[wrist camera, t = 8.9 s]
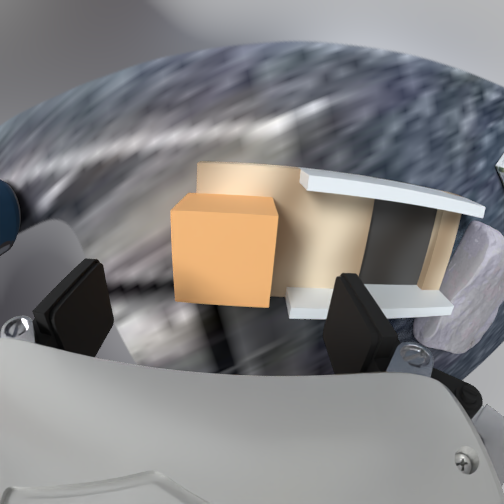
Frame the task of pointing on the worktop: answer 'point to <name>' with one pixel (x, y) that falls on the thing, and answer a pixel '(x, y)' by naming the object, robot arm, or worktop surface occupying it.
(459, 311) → the stone block
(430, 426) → the robot arm
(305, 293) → the channel walls
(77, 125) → the worktop surface
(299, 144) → the worktop surface
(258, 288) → the orange block
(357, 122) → the worktop surface
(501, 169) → the syrup box
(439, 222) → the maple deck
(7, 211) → the soda can
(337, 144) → the worktop surface
